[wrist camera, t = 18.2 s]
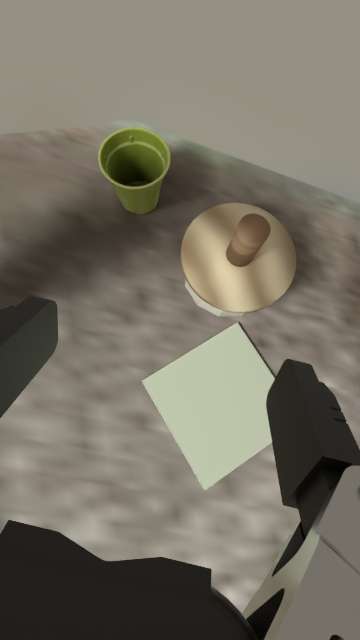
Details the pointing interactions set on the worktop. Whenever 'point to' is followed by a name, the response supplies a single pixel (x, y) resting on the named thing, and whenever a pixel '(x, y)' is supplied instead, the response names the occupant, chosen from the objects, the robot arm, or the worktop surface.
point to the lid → (238, 257)
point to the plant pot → (135, 167)
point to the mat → (215, 403)
